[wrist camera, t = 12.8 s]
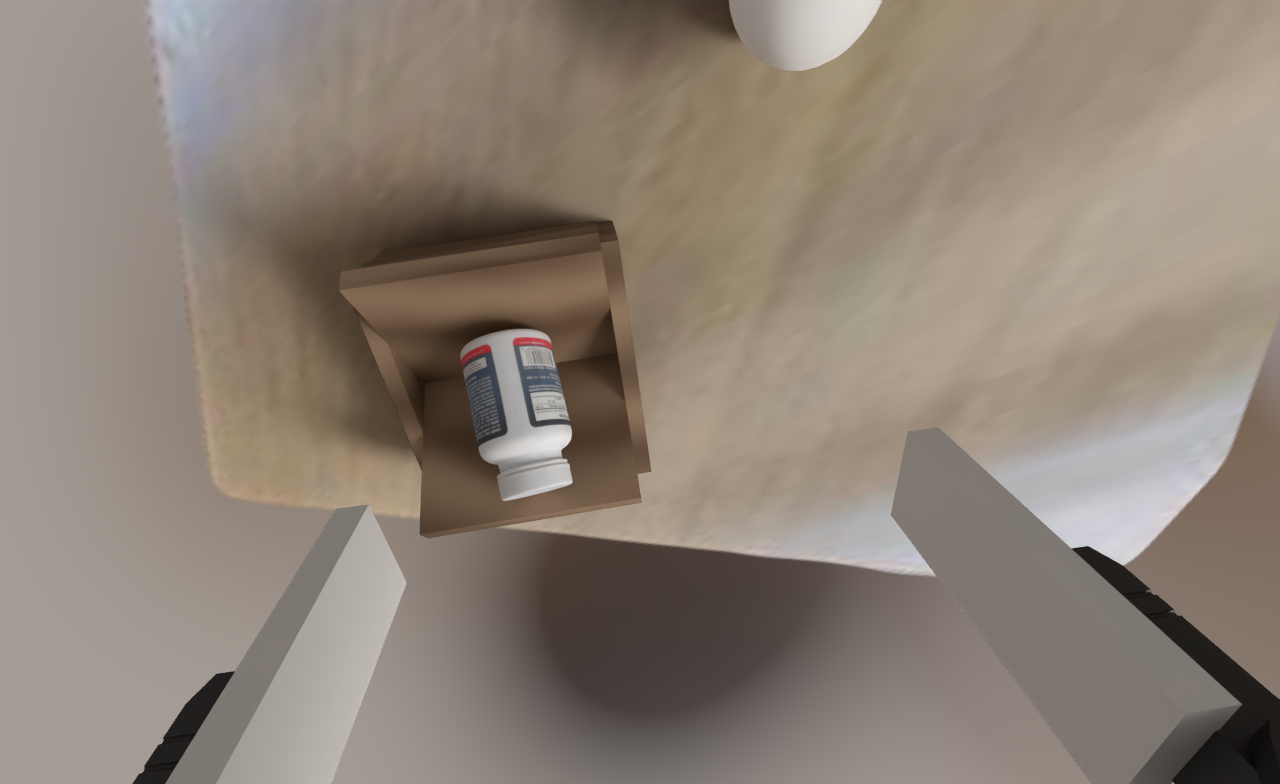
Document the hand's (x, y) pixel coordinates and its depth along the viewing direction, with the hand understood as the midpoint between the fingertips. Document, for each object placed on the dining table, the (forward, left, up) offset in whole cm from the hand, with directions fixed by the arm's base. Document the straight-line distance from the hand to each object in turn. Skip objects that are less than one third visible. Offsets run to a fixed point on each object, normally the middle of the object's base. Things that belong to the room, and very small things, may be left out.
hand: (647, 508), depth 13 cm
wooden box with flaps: (+5, -7, -25) cm, 26 cm away
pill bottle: (+2, -7, -19) cm, 20 cm away
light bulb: (-13, +10, -25) cm, 30 cm away
